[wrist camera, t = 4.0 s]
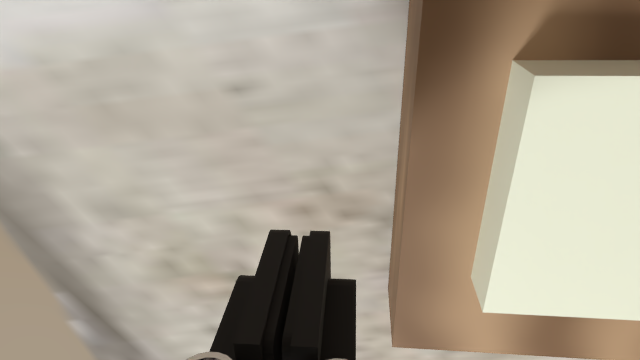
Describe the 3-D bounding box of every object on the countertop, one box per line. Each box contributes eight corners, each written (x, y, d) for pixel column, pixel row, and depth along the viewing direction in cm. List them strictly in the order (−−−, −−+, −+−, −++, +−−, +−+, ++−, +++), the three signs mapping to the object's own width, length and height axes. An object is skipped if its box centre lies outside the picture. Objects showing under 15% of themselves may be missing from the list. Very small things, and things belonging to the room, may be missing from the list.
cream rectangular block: (714, 60, 13) (769, 76, 11) (621, 283, 17) (650, 321, 15) (512, 60, 13) (535, 75, 12) (470, 277, 18) (482, 312, 16)
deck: (924, -272, 12) (1157, -367, 8) (653, 301, 22) (707, 365, 19) (427, -240, 13) (450, -312, 10) (388, 288, 24) (392, 346, 20)
